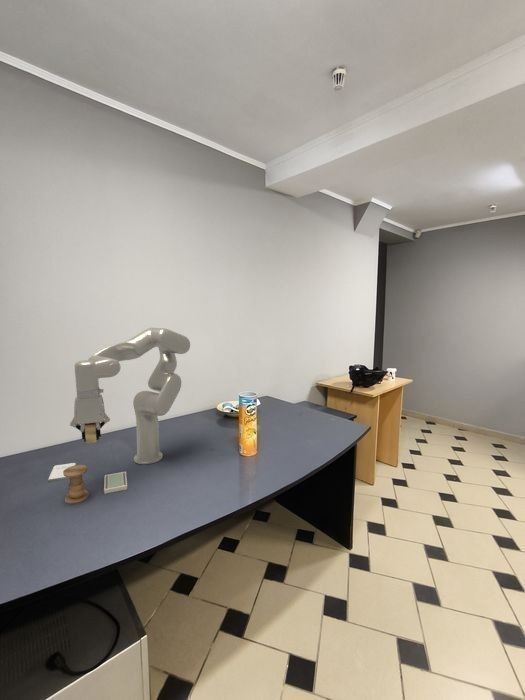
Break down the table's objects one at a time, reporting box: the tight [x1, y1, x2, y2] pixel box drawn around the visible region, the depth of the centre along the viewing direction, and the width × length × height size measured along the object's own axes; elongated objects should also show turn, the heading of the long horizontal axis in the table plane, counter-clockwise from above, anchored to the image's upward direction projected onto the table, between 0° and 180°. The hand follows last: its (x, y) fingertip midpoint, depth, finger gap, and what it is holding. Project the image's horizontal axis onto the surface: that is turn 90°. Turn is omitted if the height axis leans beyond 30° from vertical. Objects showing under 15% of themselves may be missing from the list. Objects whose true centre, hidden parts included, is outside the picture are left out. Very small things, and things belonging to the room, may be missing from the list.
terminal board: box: [103, 471, 128, 495], centre depth 132 cm, size 12×8×2 cm, turn 24°
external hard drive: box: [47, 462, 77, 483], centre depth 139 cm, size 2×8×12 cm
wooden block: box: [84, 423, 98, 445], centre depth 127 cm, size 4×4×7 cm
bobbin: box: [63, 464, 90, 505], centre depth 121 cm, size 8×8×11 cm
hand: (91, 439), depth 128 cm, fingers closed on wooden block, 3 cm apart
